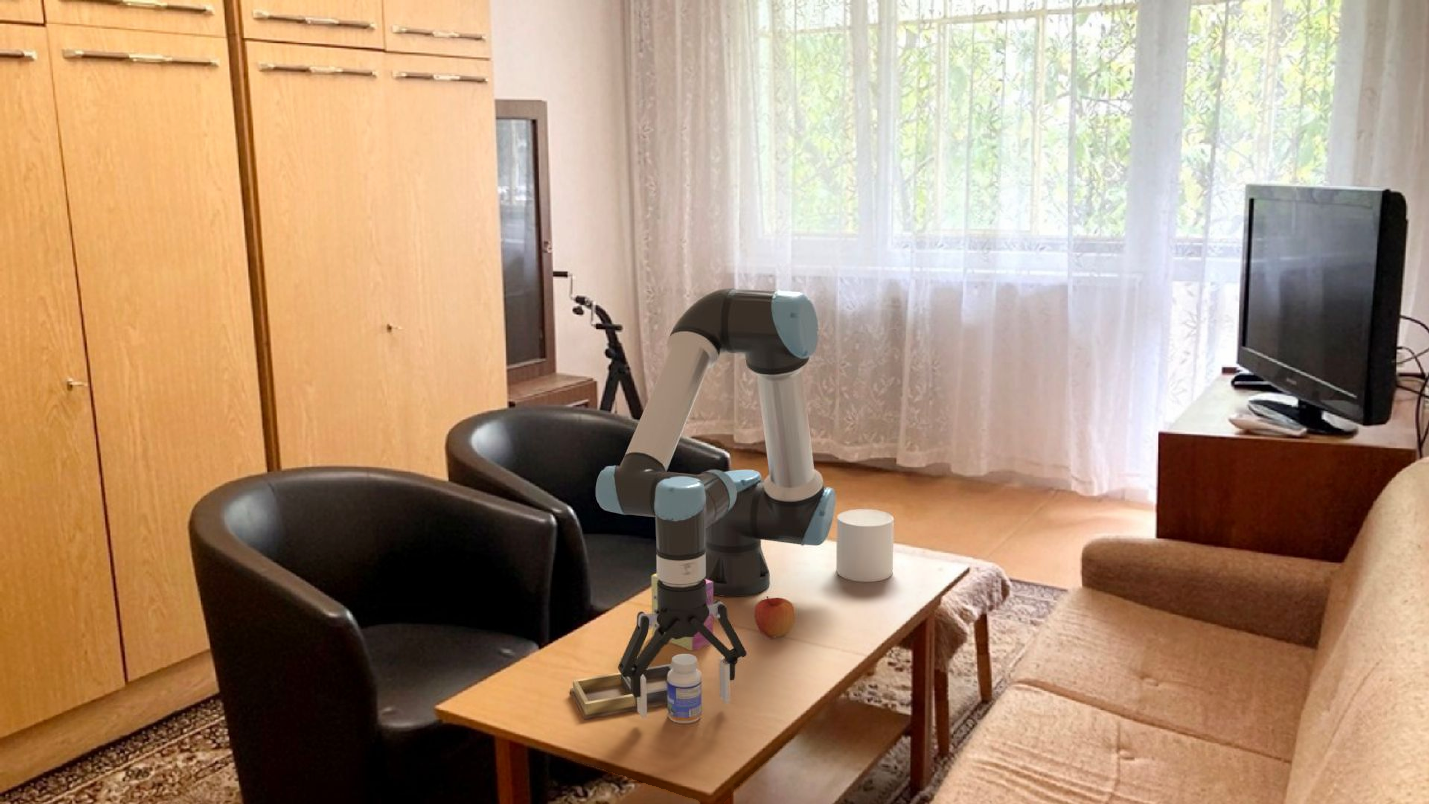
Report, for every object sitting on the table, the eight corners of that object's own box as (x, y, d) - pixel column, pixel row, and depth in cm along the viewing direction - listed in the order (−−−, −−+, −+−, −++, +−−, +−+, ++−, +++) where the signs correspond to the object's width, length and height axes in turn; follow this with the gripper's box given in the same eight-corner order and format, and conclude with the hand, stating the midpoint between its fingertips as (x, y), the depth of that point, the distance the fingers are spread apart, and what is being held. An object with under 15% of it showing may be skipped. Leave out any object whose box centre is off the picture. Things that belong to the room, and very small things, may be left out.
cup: (896, 582, 233) (897, 526, 231) (839, 582, 234) (839, 526, 231) (888, 561, 245) (889, 508, 242) (834, 562, 245) (834, 508, 243)
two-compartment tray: (584, 719, 179) (584, 706, 178) (570, 691, 188) (569, 678, 188) (691, 700, 184) (691, 688, 184) (671, 673, 194) (671, 661, 193)
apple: (802, 638, 207) (803, 597, 205) (769, 648, 203) (768, 606, 202) (780, 624, 213) (780, 584, 211) (747, 633, 210) (746, 592, 208)
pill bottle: (667, 708, 182) (665, 652, 180) (700, 707, 182) (699, 650, 180) (668, 725, 176) (667, 667, 174) (703, 723, 177) (702, 665, 175)
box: (714, 642, 206) (713, 580, 204) (692, 652, 202) (691, 589, 200) (673, 626, 213) (672, 566, 211) (651, 636, 209) (650, 575, 207)
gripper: (608, 599, 166) (612, 732, 171) (766, 576, 175) (766, 703, 179) (595, 581, 173) (600, 709, 178) (748, 560, 182) (749, 683, 186)
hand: (684, 707), depth 179 cm, fingers open, 13 cm apart
